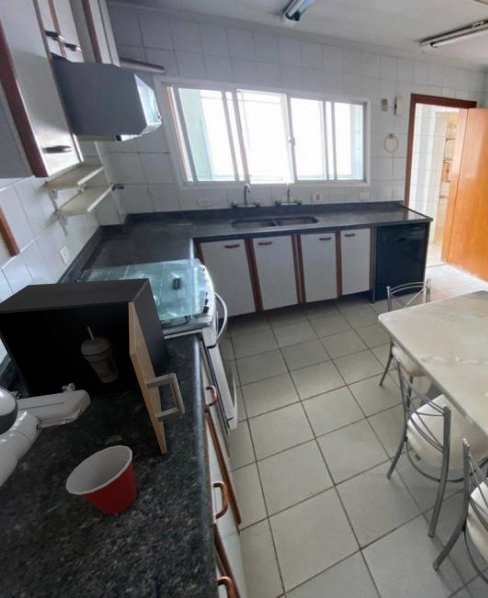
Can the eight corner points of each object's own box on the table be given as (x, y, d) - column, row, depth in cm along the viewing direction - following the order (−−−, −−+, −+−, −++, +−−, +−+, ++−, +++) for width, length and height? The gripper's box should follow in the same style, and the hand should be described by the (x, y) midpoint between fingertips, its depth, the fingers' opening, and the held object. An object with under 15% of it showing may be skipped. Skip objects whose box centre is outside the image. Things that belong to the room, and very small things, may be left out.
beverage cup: (118, 368, 112) (96, 317, 103) (128, 375, 109) (106, 324, 100) (92, 380, 106) (65, 327, 97) (102, 388, 103) (75, 334, 94)
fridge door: (180, 383, 109) (158, 297, 96) (193, 444, 88) (167, 345, 75) (155, 390, 105) (128, 302, 92) (163, 456, 84) (129, 354, 71)
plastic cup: (97, 489, 75) (76, 454, 70) (154, 473, 79) (137, 438, 74) (79, 537, 66) (53, 501, 61) (143, 516, 70) (124, 480, 65)
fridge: (157, 388, 106) (131, 300, 93) (35, 408, 95) (-14, 311, 82) (169, 357, 121) (148, 277, 108) (65, 371, 110) (27, 284, 97)
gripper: (69, 410, 68) (96, 371, 80) (-74, 434, 61) (-22, 387, 72) (79, 433, 71) (104, 391, 82) (-57, 458, 63) (-9, 409, 75)
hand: (44, 389), depth 77 cm, fingers open, 8 cm apart
